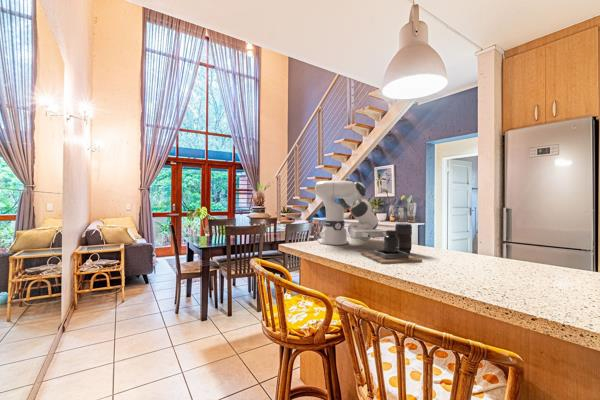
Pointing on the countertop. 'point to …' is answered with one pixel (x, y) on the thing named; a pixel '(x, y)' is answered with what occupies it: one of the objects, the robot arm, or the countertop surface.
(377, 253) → the collar dock
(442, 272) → the countertop surface
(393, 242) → the supplement bottle
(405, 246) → the camera lens
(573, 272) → the countertop surface
